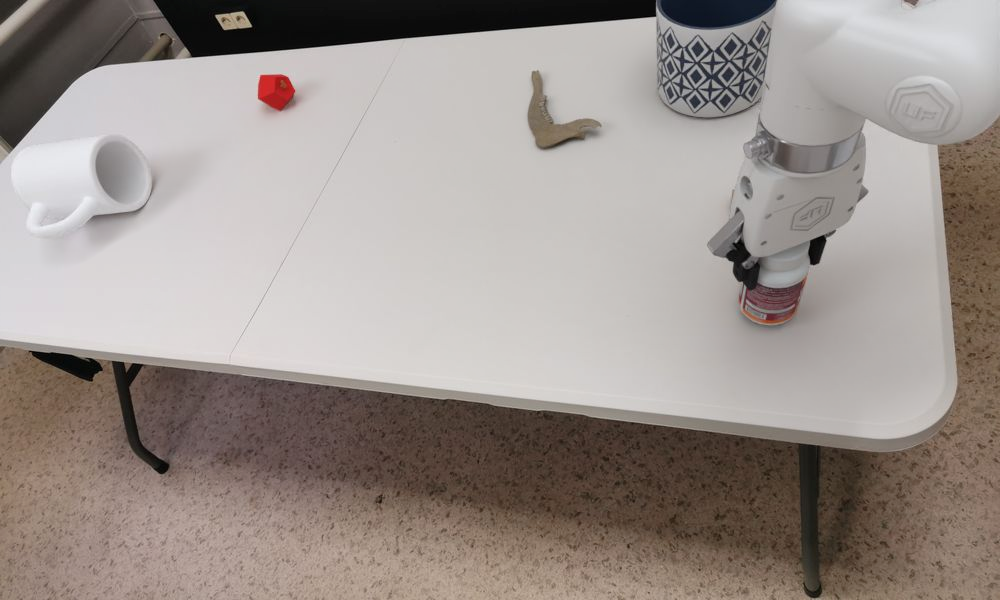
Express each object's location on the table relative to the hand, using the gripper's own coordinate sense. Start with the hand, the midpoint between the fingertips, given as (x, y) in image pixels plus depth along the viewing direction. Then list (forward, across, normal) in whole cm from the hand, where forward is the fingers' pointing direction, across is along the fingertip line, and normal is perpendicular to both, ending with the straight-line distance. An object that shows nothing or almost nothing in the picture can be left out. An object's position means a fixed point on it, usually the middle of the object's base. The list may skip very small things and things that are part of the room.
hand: (775, 266), depth 63 cm
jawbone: (+8, -7, +46) cm, 47 cm away
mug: (+8, -87, +64) cm, 108 cm away
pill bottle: (+7, 0, 0) cm, 7 cm away
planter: (+8, +14, +38) cm, 41 cm away
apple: (+8, -52, +77) cm, 93 cm away
